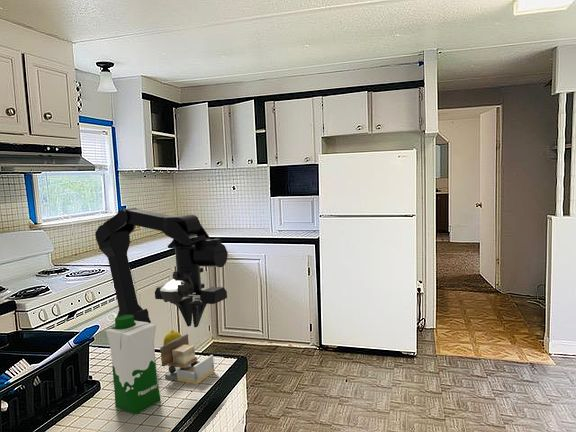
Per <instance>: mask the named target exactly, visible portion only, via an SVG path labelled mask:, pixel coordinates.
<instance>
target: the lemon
mask: <svg viewBox="0 0 576 432" xmlns="http://www.w3.org/2000/svg"><path fill="white" fill-rule="evenodd" d="M182 336H183V335H182V334H181V333H180V332H178V330H174V329H172V330H170V331H168V332H167V333H166V334H165V336H164V337H163V346H165V345H166V344H168V343H170V342H172V341H174V340H176V339H178V338H180V337H182Z"/></svg>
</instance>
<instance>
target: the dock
mask: <svg viewBox="0 0 576 432" xmlns="http://www.w3.org/2000/svg"><path fill="white" fill-rule="evenodd" d="M214 360H215V359H214V355H213V354H210V355H208V356H207V357H206V358H204V359H203V360H201V359H197V363H198V364H196V365H194V366H193V367H192V366H191V364H190V365H189V366H187V367H186V368H185V370H186V371H185V370H179V369H180V367H175V368H176V371H175V372H174V373H170V372H169V371H168V372H167V373H165V374H164V379H166V378H167V379H166V380H171V379H172V380H171V381H177V382H182V383H183V382H184V383H187V384H194V385H197V384H199V383H201V382H202V381H203V380H205V379H207V378H208V377H209V376H211V375H213V374H214V373H215V361H214Z"/></svg>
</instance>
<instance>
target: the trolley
mask: <svg viewBox="0 0 576 432" xmlns="http://www.w3.org/2000/svg"><path fill="white" fill-rule="evenodd" d="M181 336H182V337H180V338H178V339H176V340H174V341H172V342H170V343H168V344H166V345H165V346H164V345H163V346H161V347H159V349H160V360H161V367H165V366H167V365H168V366H169V368H168V372H170V373H174V372H175V371H176V367H180V369H179V370H185V368H186V367H187V366H189V365H190V364H191V366H192V367H193V366H194V365H196V364H198V363H197V360H198V357H197V356H196V351H195V349H196V348H195V345H192V344H191V345H190V344H189V343H190V342H189V334H187V333H186V334H184V335H181ZM185 371H186V370H185Z"/></svg>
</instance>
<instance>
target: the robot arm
mask: <svg viewBox="0 0 576 432" xmlns="http://www.w3.org/2000/svg"><path fill="white" fill-rule="evenodd" d="M137 226H138V227H141V228H145V229H149V230H154V231H159V232H161V233H163V234H164V235H165V236H166V237H168V238H171V239H172V240H171V242H170V243H169V244H168V245H167V248H168V249H174V253H175V267H176V270H174V271H173V272H172V279H171V280H169V281H168V282H166V283H165V284H163V285H161V286H158V287H156V288H155V290H154V298H155V300H163V302H165V303H170V304H173V305H175V306H176V307H177V308H178V310H179V311H180V313H181V315H182V317H183V320H184V322H185V324H186V327H187V328H188V327H191V326H192V323H193V327H194V328H198V327H199V325H200V322H201V319H202V316H203V314H204V311H205V309H206V307H207V305H215V304H218V303H220V302H221V301H224V300H225V299H228V292H227V289H226V288H225V287H223V286H211V287H208V288H206V289H204V288H205V283H203V282H202V277H201V273H203V272H204V268H205V267H206V268H207V267H208V268H224V266H225V265H226V264H227V261H228V257H229V256H228V254H229V253H228V250H227V247H226V245H224V244H223V242H222V238H214V239H211V237H210V236H209V234H208V232H207V231H206V230H205V228H204V227H203V225H202V223H201V221H200V219H199V217H198V216H197V215H195V214H179V215H176V214H175V215H169V214H164V213H157V212H154V211H148V210H143V209H139V208H137V207H129V208H123V209H121V210H119V211H118V212H117V213H116V214H115V215H114V216H112V217H111V218H109V219H108V220H106V221H105V222H103V223H102V224H101V225H99V226H98V227H97V229H96V230H95V232H94V233H95V234H94V235H95V240H96V242H97V246H98V248H99V250H100V251H101V252H102V253H103V254H104V255H105V257H107V259H108V260H107V261H108V265H109V270H110V273H111V279H112V283H113V287H114V291H115V297H116V301H117V306H118V311H117V312H118V313H117V315H116V317H118V316H121V315H128V314H130V315H133V316H134V320H135V321H141V322H148V323H150V324H152V321H151V319H150V315H149V310H148V308H144V309H143V308H142V307H141V305H140V304H139V303H138V297H137V294H136V289H135V285H134V280H133V279H134V278H133V276H132V272H131V266H130V263H129V258H128V250H129V247H130V246H131V245H130V244H131V238H130V234H132V233H133V232H134V231H135V230H136V227H137Z"/></svg>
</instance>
